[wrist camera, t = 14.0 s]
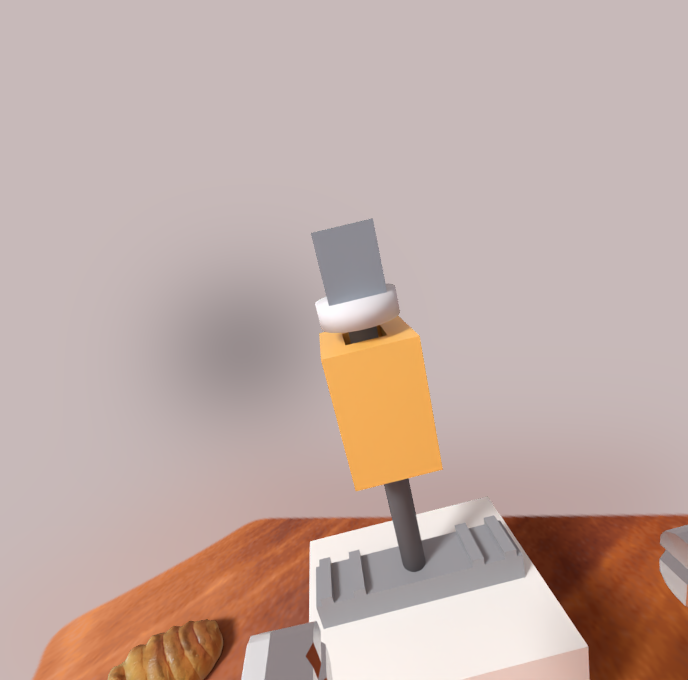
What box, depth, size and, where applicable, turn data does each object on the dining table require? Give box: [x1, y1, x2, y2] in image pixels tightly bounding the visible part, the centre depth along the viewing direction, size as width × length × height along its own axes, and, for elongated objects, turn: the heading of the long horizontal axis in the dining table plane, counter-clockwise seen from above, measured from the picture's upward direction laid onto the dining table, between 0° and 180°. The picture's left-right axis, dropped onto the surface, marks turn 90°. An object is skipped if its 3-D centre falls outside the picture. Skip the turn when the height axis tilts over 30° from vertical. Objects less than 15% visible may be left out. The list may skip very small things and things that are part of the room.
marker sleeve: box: [319, 316, 443, 491], centre depth 21 cm, size 5×5×8 cm
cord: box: [311, 219, 426, 572], centre depth 22 cm, size 4×4×25 cm
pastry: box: [108, 619, 223, 680], centre depth 32 cm, size 9×7×4 cm
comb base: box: [309, 497, 590, 680], centre depth 27 cm, size 16×12×13 cm
